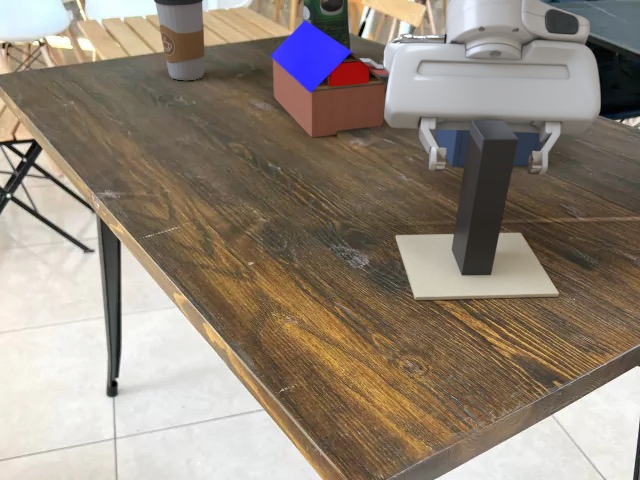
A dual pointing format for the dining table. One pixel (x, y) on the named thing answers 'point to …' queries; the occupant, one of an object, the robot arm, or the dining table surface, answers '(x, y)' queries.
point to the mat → (447, 282)
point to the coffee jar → (329, 18)
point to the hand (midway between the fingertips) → (487, 170)
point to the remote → (483, 195)
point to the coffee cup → (182, 37)
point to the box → (459, 141)
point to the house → (325, 84)
